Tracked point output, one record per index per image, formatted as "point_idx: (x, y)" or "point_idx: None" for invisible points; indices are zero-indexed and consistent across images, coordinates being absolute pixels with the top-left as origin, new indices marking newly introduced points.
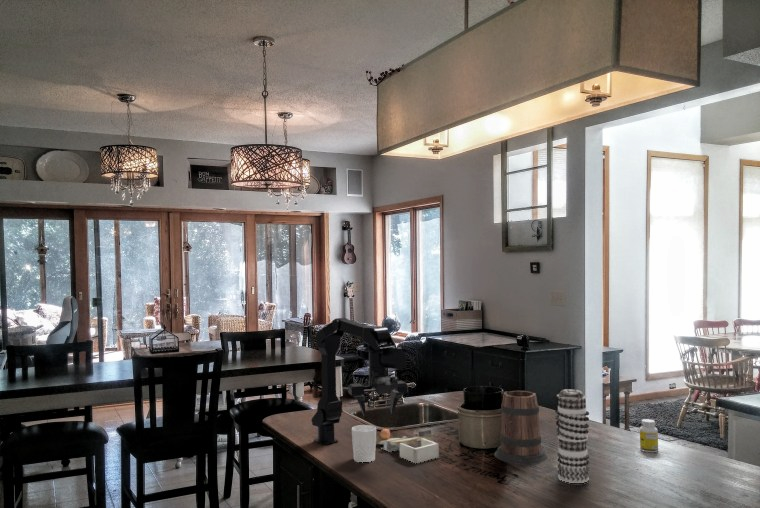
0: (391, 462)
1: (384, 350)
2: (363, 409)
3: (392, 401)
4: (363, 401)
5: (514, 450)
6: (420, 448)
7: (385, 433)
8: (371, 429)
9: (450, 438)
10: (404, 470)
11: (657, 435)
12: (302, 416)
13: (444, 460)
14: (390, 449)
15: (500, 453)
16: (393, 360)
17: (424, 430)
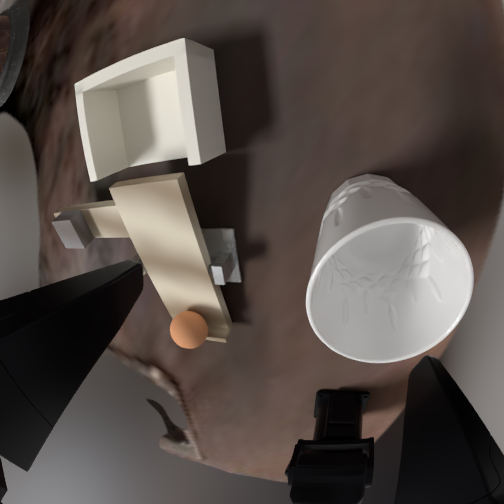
0: (291, 116)
1: None
2: (470, 411)
3: (43, 358)
4: (497, 492)
5: (1, 22)
6: (154, 48)
7: (190, 325)
8: (317, 302)
9: (44, 230)
10: (296, 8)
11: None
12: (274, 472)
13: (111, 53)
14: (215, 247)
15: (14, 45)
16: None
17: (67, 240)
